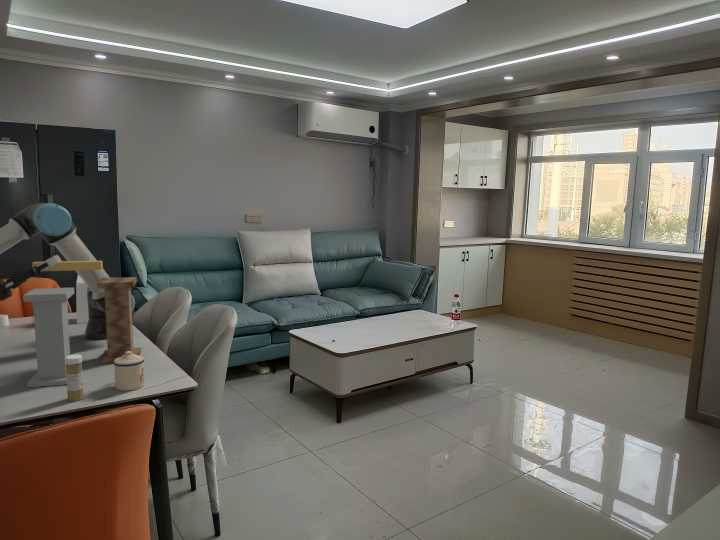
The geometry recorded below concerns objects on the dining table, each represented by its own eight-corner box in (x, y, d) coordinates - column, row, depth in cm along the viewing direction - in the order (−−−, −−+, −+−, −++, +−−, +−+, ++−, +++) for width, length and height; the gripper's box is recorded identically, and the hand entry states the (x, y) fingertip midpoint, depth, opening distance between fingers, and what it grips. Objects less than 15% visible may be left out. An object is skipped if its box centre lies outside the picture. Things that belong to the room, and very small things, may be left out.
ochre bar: (32, 271, 184) (32, 262, 184) (35, 270, 187) (34, 261, 187) (101, 269, 191) (101, 261, 191) (102, 268, 194) (102, 260, 194)
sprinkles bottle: (72, 395, 161) (70, 353, 159) (87, 396, 161) (84, 354, 159) (64, 401, 157) (61, 358, 155) (78, 402, 157) (76, 358, 155)
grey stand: (27, 387, 167) (20, 295, 163) (38, 374, 179) (32, 288, 175) (73, 384, 171) (67, 294, 167) (81, 371, 183) (76, 287, 179)
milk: (76, 323, 249) (73, 269, 245) (77, 318, 259) (73, 266, 255) (104, 321, 255) (101, 268, 251) (103, 316, 265) (101, 265, 261)
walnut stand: (99, 364, 191) (95, 283, 187) (105, 353, 204) (101, 277, 199) (138, 361, 195) (134, 282, 191) (141, 351, 208) (138, 276, 203)
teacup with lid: (147, 388, 169) (146, 353, 167) (116, 393, 164) (115, 357, 162) (140, 377, 179) (139, 344, 177) (111, 381, 174) (110, 347, 172)
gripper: (8, 297, 192) (69, 264, 196) (-7, 306, 177) (59, 270, 181) (-5, 280, 190) (56, 247, 194) (-22, 287, 174) (45, 251, 179)
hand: (57, 258), depth 188 cm, fingers closed on ochre bar, 3 cm apart
